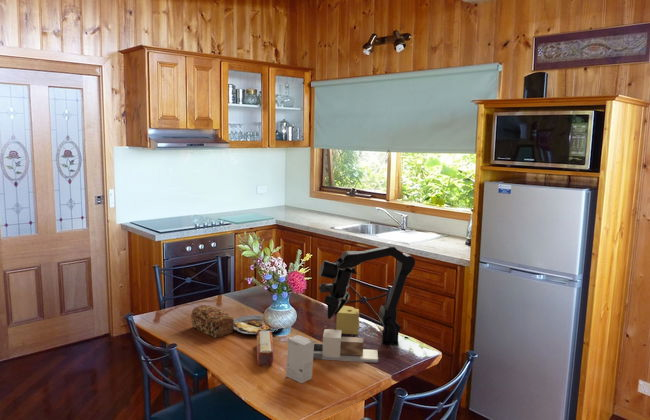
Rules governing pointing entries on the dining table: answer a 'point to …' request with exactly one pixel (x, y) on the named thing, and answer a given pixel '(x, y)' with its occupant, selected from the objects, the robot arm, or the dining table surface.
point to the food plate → (252, 320)
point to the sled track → (332, 349)
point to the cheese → (348, 320)
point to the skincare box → (300, 358)
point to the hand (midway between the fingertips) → (332, 316)
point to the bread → (212, 321)
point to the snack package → (265, 348)
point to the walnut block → (351, 346)
